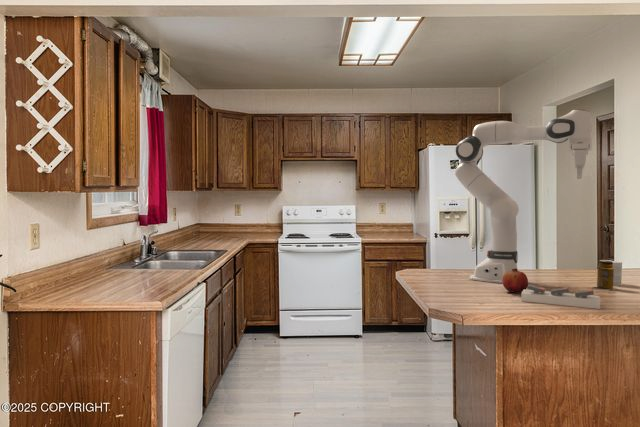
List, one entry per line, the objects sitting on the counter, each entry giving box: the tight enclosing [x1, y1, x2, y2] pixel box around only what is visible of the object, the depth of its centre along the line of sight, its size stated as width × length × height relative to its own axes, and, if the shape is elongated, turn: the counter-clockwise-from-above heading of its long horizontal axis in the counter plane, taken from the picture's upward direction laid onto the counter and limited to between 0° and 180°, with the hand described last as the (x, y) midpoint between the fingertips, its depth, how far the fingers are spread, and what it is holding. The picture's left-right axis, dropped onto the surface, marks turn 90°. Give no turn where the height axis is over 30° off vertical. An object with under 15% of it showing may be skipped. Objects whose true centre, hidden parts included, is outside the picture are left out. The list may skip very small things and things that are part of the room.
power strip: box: [520, 288, 601, 310], centre depth 180 cm, size 26×9×4 cm, turn 62°
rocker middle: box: [550, 286, 570, 294], centre depth 179 cm, size 6×4×1 cm, turn 62°
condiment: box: [590, 260, 617, 292], centre depth 208 cm, size 7×8×12 cm
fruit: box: [501, 268, 529, 294], centre depth 199 cm, size 11×10×10 cm
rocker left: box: [526, 283, 546, 293], centre depth 183 cm, size 6×4×1 cm, turn 62°
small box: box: [598, 259, 623, 287], centre depth 219 cm, size 8×6×10 cm
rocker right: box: [574, 288, 595, 296], centre depth 176 cm, size 6×4×1 cm, turn 61°
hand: (579, 178), depth 211 cm, fingers open, 8 cm apart
